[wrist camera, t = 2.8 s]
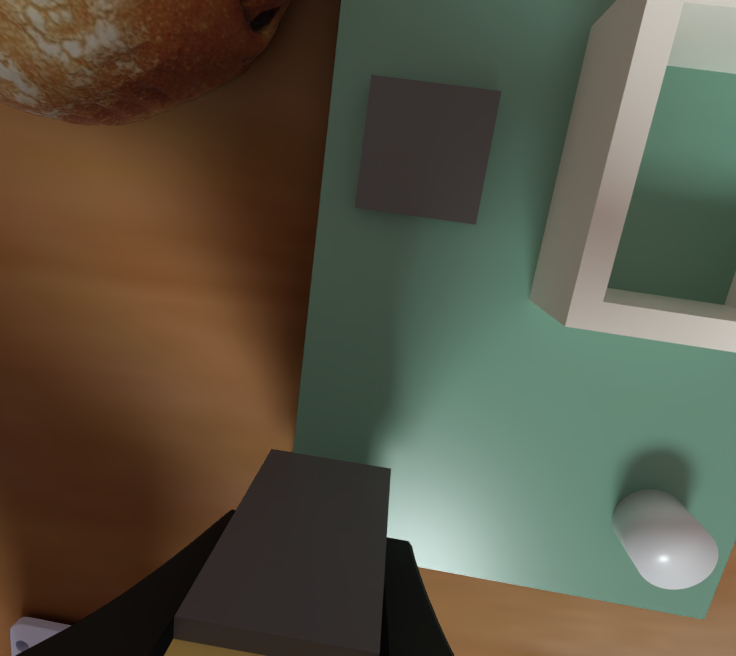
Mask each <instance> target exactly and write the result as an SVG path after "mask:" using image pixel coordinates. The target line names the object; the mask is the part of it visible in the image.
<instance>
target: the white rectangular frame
mask: <svg viewBox="0 0 736 656" xmlns="http://www.w3.org/2000/svg"><path fill="white" fill-rule="evenodd" d="M667 66H675V67H683V68H691V69H700V70H708V71H716V72H725V73H733V74H736V0H616V1H615V2H614V3H613V4H612V5H611V7H610V8H609V9H608V10H607V11H606V12H605V13H604V14H603V15H602V16H601V17H600V18H599V19H598V20H597V21H596V22H595V23H594V24H593V25H592V26H591V30H590V34H589V38H588V43H587V47H586V51H585V56H584V60H583V65H582V69H581V73H580V78H579V82H578V86H577V91H576V95H575V100H574V104H573V108H572V113H571V117H570V122H569V126H568V130H567V135H566V139H565V143H564V148H563V152H562V157H561V161H560V165H559V170H558V174H557V178H556V183H555V187H554V192H553V196H552V200H551V205H550V209H549V213H548V218H547V222H546V227H545V231H544V235H543V240H542V244H541V249H540V253H539V257H538V262H537V266H536V270H535V275H534V279H533V284H532V288H531V292H530V297H529V300H530V301H532V302H533V303H534V304H536V305H537V306H538V307H540V308H541V309H542V310H544V311H545V312H546V313H548V314H549V315H550V316H552V317H553V318H554V319H556V320H557V321H558V322H560V323H561V324H562V325H564V326H565V327H571V328H578V329H585V330H591V331H598V332H604V333H611V334H617V335H624V336H630V337H637V338H644V339H650V340H657V341H663V342H670V343H676V344H683V345H689V346H696V347H703V348H709V349H716V350H722V351H729V352H735V353H736V272H735V275H734V278H733V281H732V284H731V287H730V290H729V293H728V296H727V298H726V301H725V304H724V305H721V304H714V303H707V302H700V301H694V300H687V299H680V298H673V297H666V296H660V295H653V294H646V293H639V292H632V291H626V290H619V289H612V288H607V286H608V282H609V278H610V275H611V271H612V267H613V263H614V260H615V256H616V252H617V249H618V245H619V241H620V237H621V234H622V230H623V226H624V223H625V219H626V215H627V212H628V208H629V204H630V200H631V197H632V193H633V189H634V186H635V182H636V178H637V174H638V171H639V167H640V163H641V160H642V156H643V152H644V149H645V145H646V141H647V137H648V134H649V130H650V126H651V123H652V119H653V115H654V111H655V108H656V104H657V100H658V97H659V93H660V89H661V85H662V82H663V78H664V74H665V71H666V67H667Z"/></svg>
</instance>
